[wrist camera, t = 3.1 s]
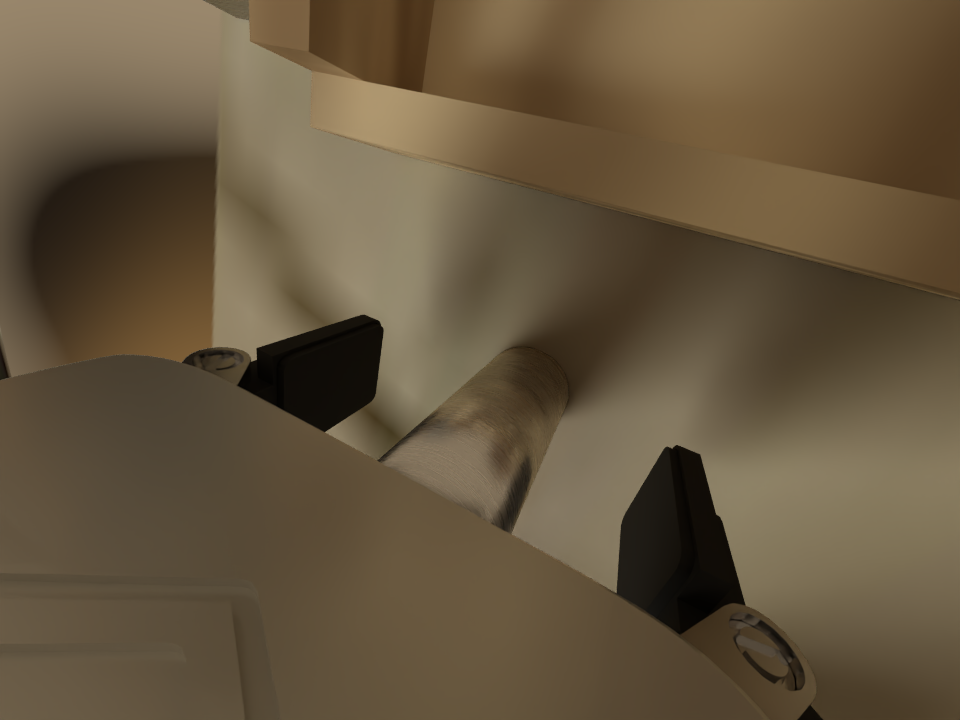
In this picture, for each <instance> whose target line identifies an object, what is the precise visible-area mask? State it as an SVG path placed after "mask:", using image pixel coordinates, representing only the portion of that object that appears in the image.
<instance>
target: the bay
mask: <svg viewBox="0 0 960 720" xmlns="http://www.w3.org/2000/svg"><path fill="white" fill-rule="evenodd" d="M249 23H250V41H251V42H253V43H255V44H257V45H259V46H261V47H263V48H265V49H268V50H270V51H272V52H274V53H276V54H278V55H280V56H282V57H284V58H286V59H288V60H290V61H293V62H295V63H297V64H299V65H301V66H303V67H305V68H307V69H309V70H311V71H312V86H311V124H310V127H312V128H315V129H319V130H322V131H325V132H328V133H332V134H335V135H338V136H341V137H345V138H348V139H351V140H354V141H357V142H361V143H364V144H367V145H370V146H374V147H377V148H380V149H383V150H387V151H390V152H393V153H397V154H401V155H405V156H408V157H412V158H416V159H420V160H424V161H428V162H432V163H435V164H439V165H443V166H447V167H451V168H455V169H458V170H462V171H466V172H470V173H474V174H478V175H482V176H485V177H489V178H493V179H497V180H501V181H505V182H508V183H512V184H516V185H520V186H524V187H528V188H532V189H535V190H539V191H543V192H547V193H551V194H555V195H558V196H562V197H566V198H570V199H574V200H578V201H582V202H585V203H589V204H593V205H597V206H601V207H605V208H608V209H612V210H616V211H620V212H624V213H628V214H632V215H635V216H639V217H643V218H647V219H651V220H655V221H658V222H662V223H666V224H670V225H674V226H678V227H682V228H685V229H689V230H693V231H697V232H701V233H705V234H708V235H712V236H716V237H720V238H724V239H728V240H732V241H735V242H739V243H743V244H747V245H751V246H755V247H758V248H762V249H766V250H770V251H774V252H778V253H782V254H785V255H789V256H793V257H797V258H801V259H805V260H808V261H812V262H816V263H820V264H824V265H828V266H832V267H835V268H839V269H843V270H847V271H851V272H855V273H858V274H862V275H866V276H870V277H874V278H878V279H882V280H885V281H889V282H893V283H897V284H901V285H905V286H908V287H912V288H916V289H920V290H924V291H928V292H932V293H935V294H939V295H943V296H947V297H951V298H955V299H958V300H960V0H249Z"/></svg>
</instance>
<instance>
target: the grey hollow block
mask: <svg viewBox="0 0 960 720" xmlns="http://www.w3.org/2000/svg"><path fill="white" fill-rule="evenodd" d="M204 1H206V2H208V3H209V4H212V5H213V6H215V7H217V8H219V9H221V10H223V11H225V12H227V13H229V14H230V15H232V16H234V17H236V18H241V19H248V20H249V0H204Z"/></svg>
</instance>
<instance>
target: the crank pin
mask: <svg viewBox="0 0 960 720" xmlns="http://www.w3.org/2000/svg"><path fill="white" fill-rule="evenodd" d="M568 397H569V387H568V382H567V378H566V376H565V374H564V372H563V370H562V368H561V367H560V366H559V365H558V363H557V362H556V361H555V360H554V359H552V358H551V357H550V356H549V355H547V354H545V353H544V352H541V351H539V350H537V349H533V348H528V347H515V348H511V349H508V350H506V351H504V352H502V353H500V354H499V355H498V356H496V357H495V358H494V359H493V360H492V361H491V362H490V363H488V364H487V365H486V366H485V367H484V368H483V369H482V370H480V371H479V372H478V373H477V374H476V375H475V376H474V377H472V378H471V379H470V380H469V381H468V382H467V383H466V384H464V385H463V386H462V387H461V388H460V389H459V390H458V391H456V392H455V393H454V394H453V395H452V396H451V397H450V398H448V399H447V400H446V401H445V402H444V403H443V404H442V405H440V406H439V407H438V408H437V409H436V410H435V411H434V412H432V413H431V414H430V415H429V416H428V417H427V418H426V419H424V420H423V421H422V422H421V423H420V424H419V425H418V426H416V427H415V428H414V429H413V430H412V431H411V432H410V433H408V434H407V435H406V436H405V437H404V438H403V439H402V440H401V441H399V442H398V443H397V444H396V445H395V446H394V447H393V448H391V449H390V450H389V451H388V452H387V453H386V454H385V455H383V456H382V457H381V458H380V459H379V460H378V462H380V463H382V464H384V465H386V466H387V467H389V468H391V469H393V470H395V471H397V472H398V473H400V474H402V475H404V476H406V477H408V478H409V479H411V480H413V481H415V482H417V483H419V484H420V485H422V486H424V487H426V488H428V489H430V490H431V491H433V492H435V493H437V494H439V495H440V496H442V497H444V498H446V499H448V500H450V501H452V502H453V503H455V504H457V505H459V506H461V507H463V508H464V509H466V510H468V511H470V512H472V513H474V514H475V515H477V516H479V517H481V518H483V519H484V520H486V521H488V522H490V523H492V524H494V525H495V526H497V527H499V528H501V529H503V530H504V531H506V532H508V533H510V534H511V533H512V531H513V528H514V526H515V524H516V521H517V519H518V517H519V514H520V512H521V510H522V507H523V505H524V503H525V500H526V498H527V496H528V493H529V491H530V489H531V486H532V484H533V482H534V479H535V477H536V475H537V472H538V470H539V468H540V465H541V463H542V461H543V458H544V456H545V454H546V451H547V449H548V447H549V445H550V442H551V440H552V438H553V435H554V433H555V431H556V428H557V426H558V424H559V421H560V419H561V417H562V414H563V412H564V410H565V407H566V405H567V402H568Z"/></svg>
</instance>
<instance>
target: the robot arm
mask: <svg viewBox="0 0 960 720" xmlns="http://www.w3.org/2000/svg"><path fill="white" fill-rule="evenodd" d="M382 340H383V327H382V326H381V324H380V322H379V321H378V320H376V319H373V318H371V317H369V316H366V315H360V316H357V317H353V318H350V319H347V320H344V321H341V322H338V323H335V324H331V325H328V326H325V327H322V328H319V329H316V330H313V331H309V332H306V333H303V334H300V335H297V336H294V337H290V338H287V339H284V340H281V341H278V342H275V343H272V344H268V345H265V346H262V347H259V348H257V360H255V361H252V362H251V357H250V356H249V354H248V353H246V352H244V351H242V350H239V349H235V348H228V347H216V348H207V349H203V350H199V351H196V352H194V353H192V354H190V355H189V356H187V357H186V358H185V359H184V361H183V362H182V363H180V362H177V361H173V360H169V359H164V358H158V357H152V356H142V355H125V354H123V355H113V356H106V357H100V358H96V359H91V360H86V361H81V362H76V363H72V364H67V365H63V366H58V367H54V368H49V369H45V370H40V371H36V372H33V373H28V374H24V375H19V376H15V377H11V378H7V379H3V380H0V720H823V719H822V718H821V717H820V716H819V715H818V714H817V712H816V711H815V710H814V709H813V708H812V707H811V705H810V704H811V703H812V702H813V701H814V698H815V695H816V692H817V687H816V681H815V676H814V674H813V672H812V670H811V668H810V665H809V663H808V661H807V660H806V658H805V657H804V655H803V654H802V653H801V651H800V650H799V648H798V647H797V645H796V644H795V643H794V642H793V641H792V640H791V639H790V638H789V637H788V635H787V634H786V633H785V632H784V631H783V630H782V629H780V628H779V627H778V626H777V625H776V624H775V623H774V622H772V621H771V620H770V619H769V618H767V617H766V616H764V615H763V614H761V613H760V612H758V611H756V610H754V609H752V608H750V607H747V606H745V602H744V598H743V595H742V591H741V587H740V584H739V580H738V577H737V573H736V569H735V566H734V562H733V559H732V555H731V551H730V548H729V544H728V541H727V537H726V533H725V530H724V526H723V522H722V520H721V518H720V517H719V516H718V515H716V513H715V509H714V505H713V501H712V497H711V494H710V490H709V486H708V482H707V478H706V474H705V471H704V467H703V463H702V459H701V456H700V454H698V453H695V452H693V451H690V450H688V449H686V448H683V447H681V446H678V445H676V446H674V447H673V449H672V448H670V447H666V448H665V449H664V450H663V451H662V453H661V455H660V456H659V458H658V460H657V461H656V463H655V465H654V466H653V468H652V470H651V471H650V473H649V475H648V476H647V478H646V480H645V482H644V483H643V485H642V487H641V488H640V490H639V492H638V493H637V495H636V497H635V498H634V500H633V502H632V503H631V505H630V507H629V508H628V510H627V512H626V513H625V515H624V518H623V520H622V524H621V534H620V550H619V565H618V580H617V594H616V593H615V592H613V591H611V590H609V589H608V588H606V587H604V586H603V585H601V584H599V583H598V582H596V581H594V580H593V579H591V578H589V577H587V576H586V575H584V574H582V573H581V572H579V571H577V570H575V569H573V568H571V567H570V566H568V565H566V564H564V563H562V562H561V561H559V560H557V559H555V558H553V557H552V556H550V555H548V554H546V553H544V552H542V551H541V550H539V549H537V548H535V547H533V546H532V545H530V544H528V543H526V542H524V541H523V540H521V539H519V538H517V537H515V536H513V535H512V534H510V533H508V532H506V531H504V530H503V529H501V528H499V527H497V526H495V525H494V524H492V523H490V522H488V521H486V520H484V519H483V518H481V517H479V516H477V515H475V514H474V513H472V512H470V511H468V510H466V509H464V508H463V507H461V506H459V505H457V504H455V503H453V502H452V501H450V500H448V499H446V498H444V497H442V496H440V495H439V494H437V493H435V492H433V491H431V490H430V489H428V488H426V487H424V486H422V485H420V484H419V483H417V482H415V481H413V480H411V479H409V478H408V477H406V476H404V475H402V474H400V473H398V472H397V471H395V470H393V469H391V468H389V467H387V466H386V465H384V464H382V463H380V462H378V461H376V460H375V459H373V458H371V457H369V456H367V455H365V454H363V453H362V452H360V451H358V450H356V449H354V448H352V447H351V446H349V445H347V444H345V443H343V442H341V441H339V440H338V439H336V438H334V437H332V436H330V435H328V434H327V433H325V432H326V431H327V430H329V429H330V428H332V427H333V426H335V425H336V424H338V423H339V422H341V421H343V420H344V419H346V418H347V417H349V416H350V415H352V414H353V413H355V412H356V411H358V410H359V409H361V408H362V407H364V406H366V405H367V404H369V403H370V402H371V401H372V400H373V398H374V397H375V394H376V387H377V379H378V371H379V363H380V356H381V348H382Z"/></svg>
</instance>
